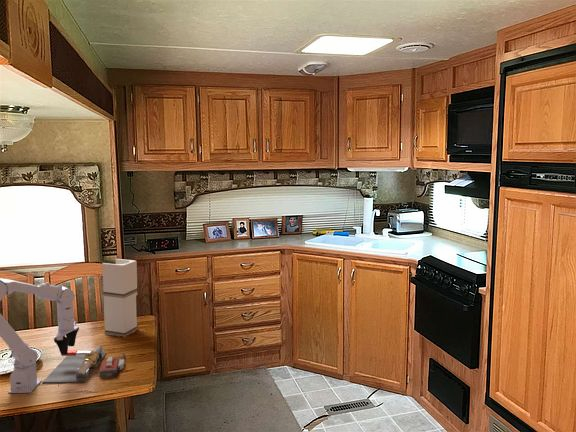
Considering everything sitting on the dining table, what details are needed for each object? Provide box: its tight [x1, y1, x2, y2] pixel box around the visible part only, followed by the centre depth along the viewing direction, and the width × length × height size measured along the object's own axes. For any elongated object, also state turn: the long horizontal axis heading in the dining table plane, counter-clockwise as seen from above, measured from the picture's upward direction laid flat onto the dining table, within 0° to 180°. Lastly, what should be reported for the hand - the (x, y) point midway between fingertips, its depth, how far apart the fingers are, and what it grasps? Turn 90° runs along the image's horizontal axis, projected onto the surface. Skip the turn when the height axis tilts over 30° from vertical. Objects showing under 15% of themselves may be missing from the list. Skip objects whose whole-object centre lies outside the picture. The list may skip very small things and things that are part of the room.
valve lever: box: [60, 349, 94, 357], centre depth 194 cm, size 12×3×1 cm, turn 93°
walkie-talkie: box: [99, 352, 126, 379], centre depth 196 cm, size 9×4×20 cm
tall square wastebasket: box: [101, 258, 139, 338], centre depth 231 cm, size 11×11×35 cm
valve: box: [76, 345, 105, 378], centre depth 194 cm, size 22×4×5 cm, turn 3°
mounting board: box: [42, 352, 107, 384], centre depth 194 cm, size 26×16×1 cm, turn 3°
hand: (67, 350), depth 189 cm, fingers open, 7 cm apart
